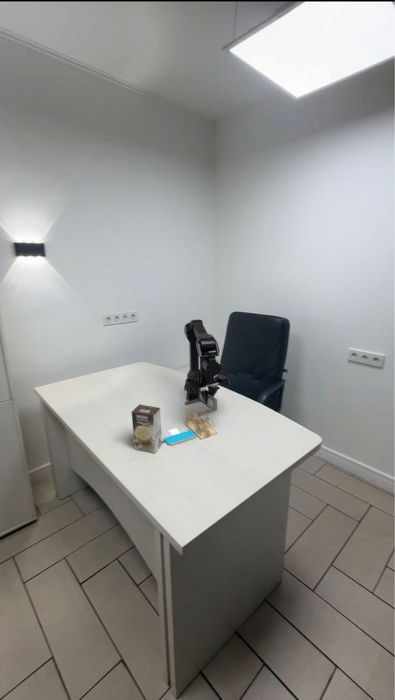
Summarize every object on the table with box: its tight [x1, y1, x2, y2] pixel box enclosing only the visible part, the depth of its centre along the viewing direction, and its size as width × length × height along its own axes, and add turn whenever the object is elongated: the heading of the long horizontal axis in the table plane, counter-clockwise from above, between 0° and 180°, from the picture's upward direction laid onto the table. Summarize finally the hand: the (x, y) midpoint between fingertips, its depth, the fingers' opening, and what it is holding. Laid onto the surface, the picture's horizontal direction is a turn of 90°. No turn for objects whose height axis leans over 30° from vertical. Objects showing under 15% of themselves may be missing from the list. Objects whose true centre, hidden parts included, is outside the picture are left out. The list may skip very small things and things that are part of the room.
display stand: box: [184, 411, 218, 440], centre depth 130 cm, size 8×14×5 cm, turn 28°
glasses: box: [184, 392, 218, 417], centre depth 127 cm, size 8×12×5 cm
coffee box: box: [131, 403, 163, 454], centre depth 116 cm, size 9×6×16 cm
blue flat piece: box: [162, 427, 197, 447], centre depth 126 cm, size 20×12×2 cm, turn 118°
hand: (207, 403), depth 129 cm, fingers closed on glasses
